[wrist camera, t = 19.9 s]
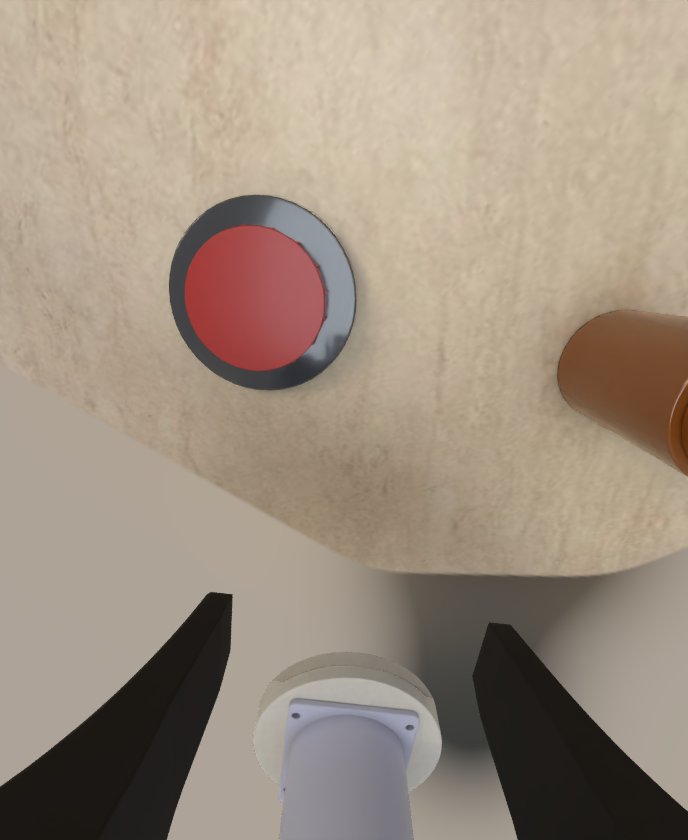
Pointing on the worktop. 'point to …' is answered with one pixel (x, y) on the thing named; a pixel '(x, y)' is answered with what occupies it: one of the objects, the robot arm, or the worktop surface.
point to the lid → (255, 297)
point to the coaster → (321, 249)
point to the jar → (633, 380)
